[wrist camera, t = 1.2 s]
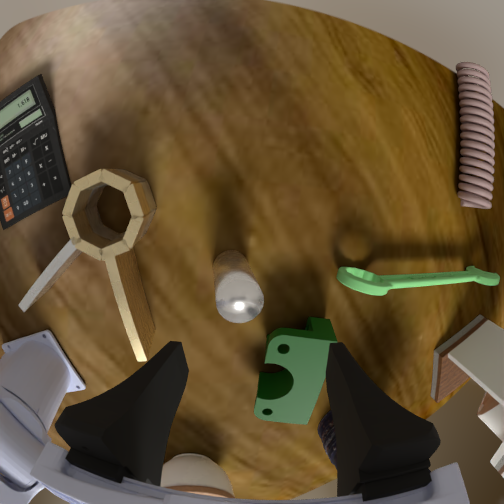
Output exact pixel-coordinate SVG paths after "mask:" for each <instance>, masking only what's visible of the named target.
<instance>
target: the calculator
mask: <svg viewBox="0 0 504 504" xmlns="http://www.w3.org/2000/svg"><path fill="white" fill-rule="evenodd" d="M70 189H71V182H70V178H69V175H68V171H67V167H66V163H65V159H64V154H63V150H62V146H61V141H60V136H59V131H58V126H57V120H56V115H55V109H54V106H53V104H52V101H51V99H50V96H49V94H48V91H47V88H46V85H45V83H44V80H43V77H42V74H40V75H38V76H36V77H35V78H33V79H32V80H30V81H29V82H27V83H26V84H24V85H23V86H21V87H20V88H18V89H17V90H16V91H14V92H13V93H11V94H10V95H9V96H7V97H6V98H5V99H3V100H2V101H1V102H0V221H1V224H2V228H3V230H4V229H6V228H8V227H10V226H12V225H13V224H15V223H17V222H19V221H20V220H22V219H24V218H26V217H27V216H29V215H31V214H33V213H35V212H37V211H39V210H41V209H42V208H44V207H46V206H48V205H50V204H52V203H54V202H56V201H58V200H60V199H62V198H64V197H66V196H68V194H69V191H70Z"/></svg>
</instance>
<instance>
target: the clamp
mask: <svg viewBox="0 0 504 504" xmlns="http://www.w3.org/2000/svg"><path fill="white" fill-rule="evenodd" d="M330 343H337V339H336V336H335V333H334V330H333V327H332V324H331V321H330V319H324V318H316V317H309V318H308V320H307V324H306V328H305V330H299V329H292V328H278V329H276V330H274V331H273V332H272V333H271V334H270V335H267V341H266V353H265V363H273V364H278V365H281V366H283V367H285V368H286V369H284V370H282V371H280V372H277V373H264V372H260V374H259V382H258V390H257V396H256V400H255V407H254V414H255V415H256V417H258V418H259V419H262V420H267V421H275V422H284V423H294V424H306V425H307V423H308V421H309V419H310V416H311V414H312V411H313V409H314V406H315V404H316V401H317V399H318V396H319V393H320V391H321V388H322V385H323V383H324V380H325V377H326V366H327V360H328V352H329V345H330Z"/></svg>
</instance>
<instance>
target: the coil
mask: <svg viewBox="0 0 504 504" xmlns="http://www.w3.org/2000/svg"><path fill="white" fill-rule="evenodd" d="M463 68H472V69H475V70H479V71H480V72H478V71H475V70H470V69H463ZM462 69H463V70H462ZM456 70H457V77H458V80H457V83H458V85H459V87H458V91H459V93H460V94H459V99H460V100H461V101H460V102H459V105H460V107H461V109H460V114H461V115H462V116H461V117H460V122H461V123H462V125H461V126H460V129H461V130H462V131H463V132H462V133H461V134H460V137H461V138H462V139H463V140H462V141H461V142H460V145H461V147H463V148H465V149H461V150H460V154H461V155H462V156H465V157H461V158H460V162H461V163H462V164H464V165H469V166H475V167H480V168H483V169H477V168H473V167H469V166H460V168H459V170H460V171H461V172H463V173H468V174H473V175H476V176H480V177H476V176H469V175H464V174H460V175H459V179H460V180H461V181H465V182H469V183H472V184H467V183H459V184H458V187H459V189H462V190H465V191H468V192H465V191H459V192H458V193H457V195H458V197H459V198H462V199H464V200H461V206H467V207H475V208H482V209H490V208H491V206H492V204H491V202H490V201H488V200H491V199H492V197H493V196H492V194H491V193H490V192H491V191H492V190H493V185H492V184H491V183H492V182H493V181H494V178H493V176H492V174H493V173H494V168H493V167H492V166H493V165H494V164H495V161H494V159H493V157H494V156H495V152H494V150H493V149H494V147H495V144H494V142H493V141H494V139H495V136H494V134H493V132H494V126H493V124H494V119H493V115H494V112H493V110H492V108H493V103H492V95H491V87H490V84H491V83H490V80H489V78H490V76H489V73H488V72H487V70H486V69H485V68H483V67H482V66H480V65H478V64H475V63H470V62H461V63H458V64H457V65H456ZM481 72H482V73H481ZM468 75H472V76H476V77H479V79H478V78H475V77H469V76H468ZM464 76H466V77H464ZM465 83H468V84H465ZM474 84H476V85H474ZM477 84H478V85H477ZM466 90H469V91H477V92H479V93H476V92H469V91H466ZM469 98H474V99H478V100H474V99H469ZM473 106H475V107H473ZM487 112H488V113H487ZM486 127H488V129H487V128H486ZM484 135H487V137H486V136H484ZM482 143H486V144H488V145H485V144H482ZM480 151H485V152H487V153H483V152H480ZM468 157H469V158H468ZM473 158H475V159H473ZM477 159H483V160H485V161H480V160H477ZM474 184H476V185H474Z"/></svg>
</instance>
